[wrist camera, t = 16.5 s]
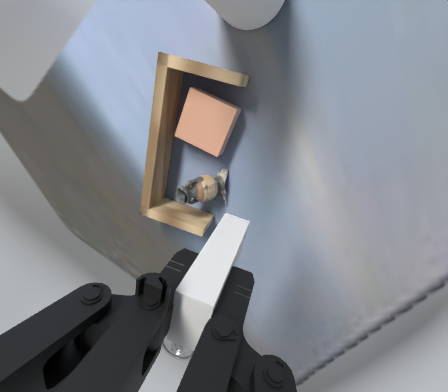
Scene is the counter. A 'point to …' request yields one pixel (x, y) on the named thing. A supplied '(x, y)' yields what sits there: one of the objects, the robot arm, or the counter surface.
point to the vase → (203, 188)
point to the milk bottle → (246, 12)
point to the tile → (207, 121)
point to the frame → (163, 140)
